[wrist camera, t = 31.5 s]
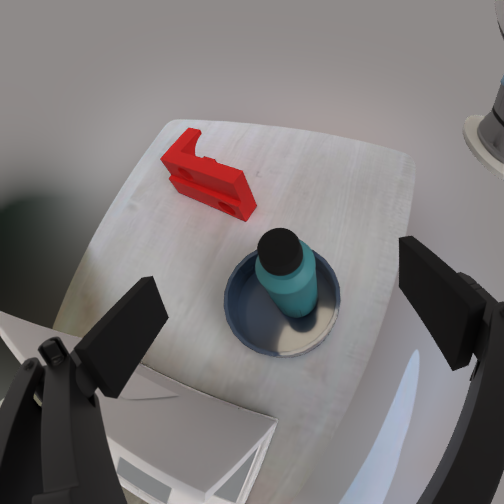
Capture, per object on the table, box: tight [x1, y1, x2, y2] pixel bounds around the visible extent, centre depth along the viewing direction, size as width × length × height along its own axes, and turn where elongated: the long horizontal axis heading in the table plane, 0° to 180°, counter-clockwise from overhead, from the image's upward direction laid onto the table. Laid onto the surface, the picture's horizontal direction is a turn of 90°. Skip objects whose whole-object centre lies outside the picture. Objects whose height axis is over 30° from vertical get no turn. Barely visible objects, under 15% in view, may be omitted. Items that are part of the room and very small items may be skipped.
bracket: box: [160, 128, 257, 222], centre depth 51 cm, size 18×10×10 cm
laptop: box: [0, 311, 279, 504], centre depth 24 cm, size 35×26×28 cm
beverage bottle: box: [255, 228, 319, 318], centre depth 33 cm, size 6×7×20 cm
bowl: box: [224, 250, 340, 358], centre depth 40 cm, size 16×16×6 cm
